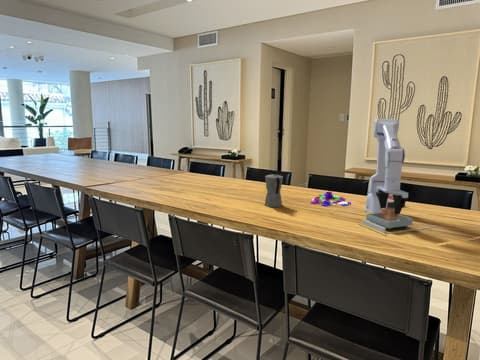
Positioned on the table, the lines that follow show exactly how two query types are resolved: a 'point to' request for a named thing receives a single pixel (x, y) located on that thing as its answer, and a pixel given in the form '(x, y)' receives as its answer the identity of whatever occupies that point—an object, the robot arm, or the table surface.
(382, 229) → the track
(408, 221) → the light blue storage bin
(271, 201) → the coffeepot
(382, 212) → the block
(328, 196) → the colorful gemstone pile
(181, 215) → the table surface
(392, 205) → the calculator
